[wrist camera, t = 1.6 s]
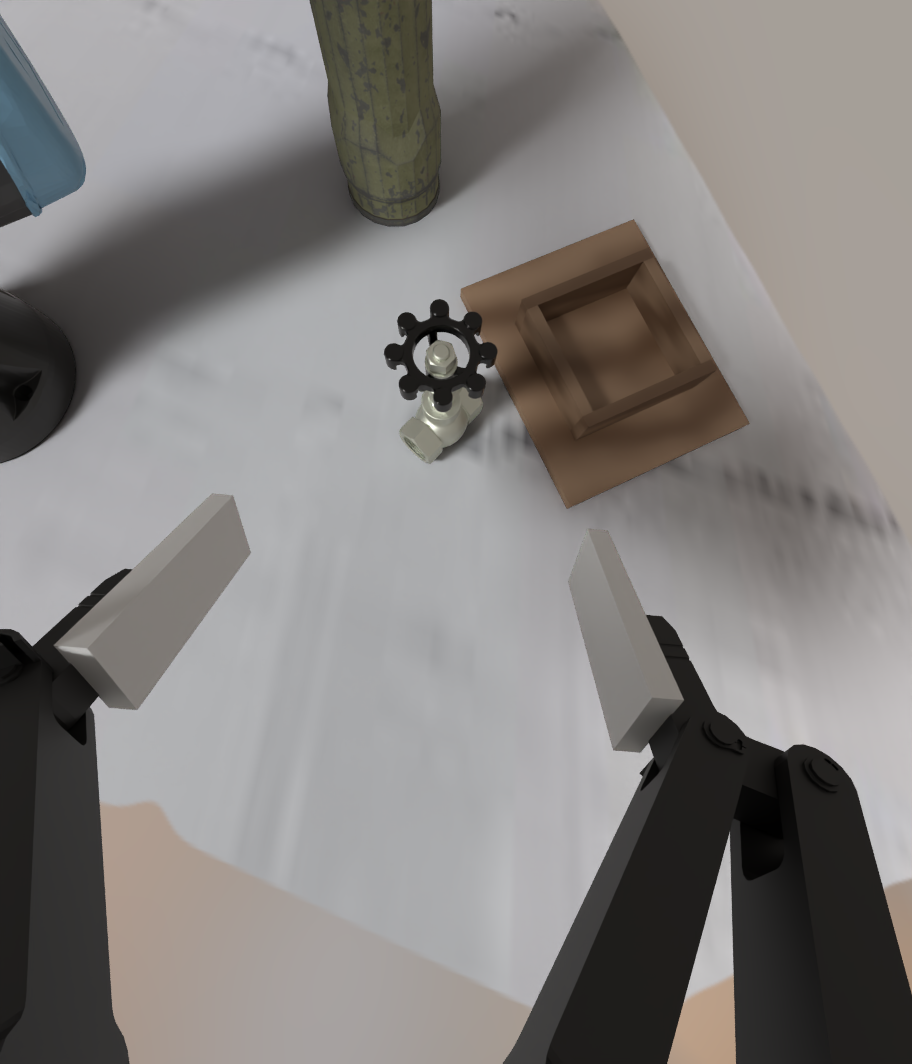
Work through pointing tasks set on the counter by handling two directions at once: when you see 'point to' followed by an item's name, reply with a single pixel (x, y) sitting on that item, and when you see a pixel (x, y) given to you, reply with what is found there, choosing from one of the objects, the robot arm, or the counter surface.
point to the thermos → (383, 103)
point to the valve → (440, 379)
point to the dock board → (602, 362)
